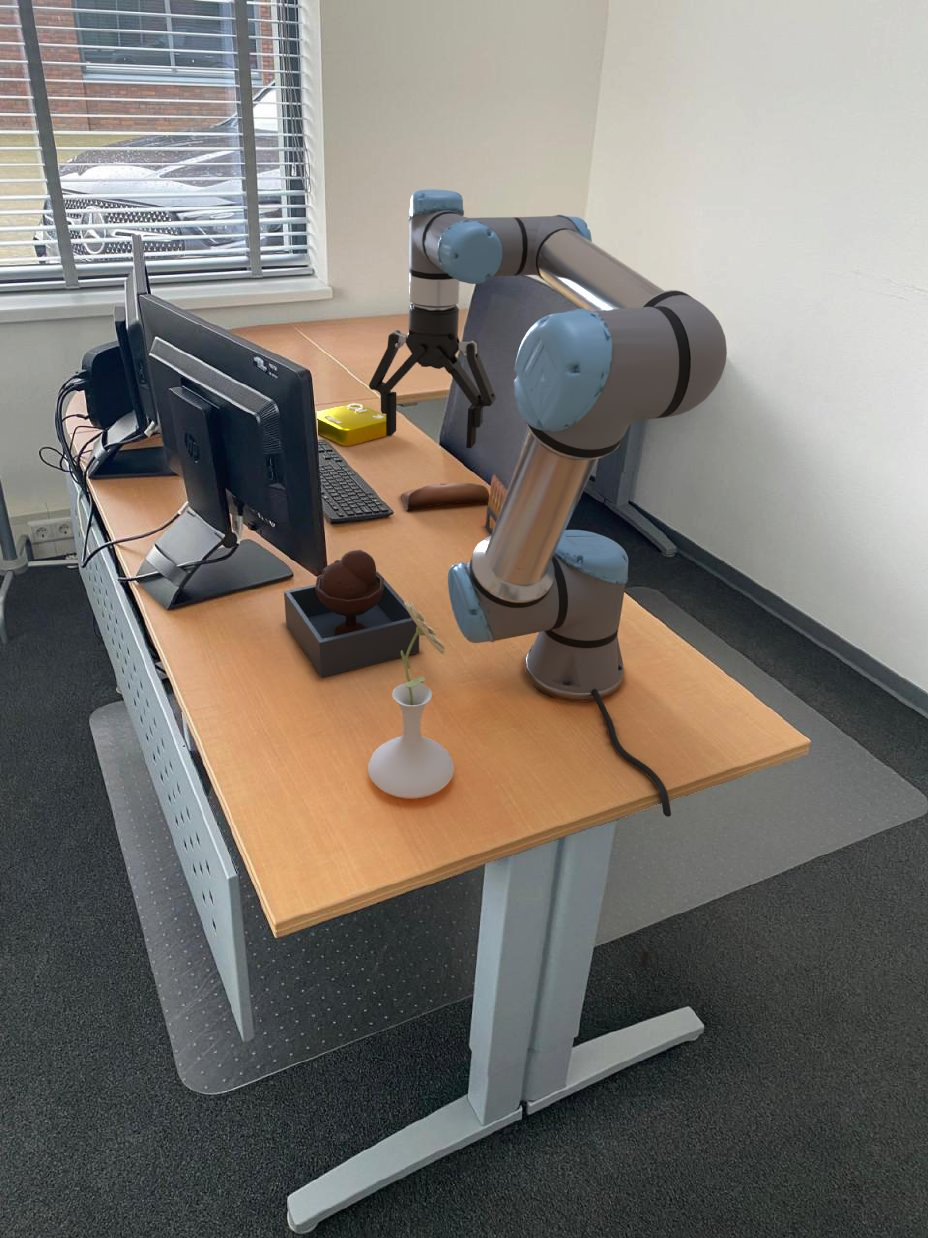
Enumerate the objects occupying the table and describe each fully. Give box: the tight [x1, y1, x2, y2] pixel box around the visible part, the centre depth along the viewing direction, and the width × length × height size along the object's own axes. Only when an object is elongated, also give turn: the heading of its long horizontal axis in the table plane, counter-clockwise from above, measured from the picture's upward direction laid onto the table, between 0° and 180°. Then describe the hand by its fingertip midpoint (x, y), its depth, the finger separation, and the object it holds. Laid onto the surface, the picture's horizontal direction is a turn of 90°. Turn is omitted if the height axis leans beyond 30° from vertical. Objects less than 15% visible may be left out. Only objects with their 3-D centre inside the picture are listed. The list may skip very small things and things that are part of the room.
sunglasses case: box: [400, 482, 490, 511], centre depth 194 cm, size 18×7×7 cm
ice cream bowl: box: [315, 549, 385, 636], centre depth 144 cm, size 11×11×15 cm
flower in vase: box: [367, 600, 455, 800], centre depth 115 cm, size 13×11×25 cm
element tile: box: [316, 402, 387, 447], centre depth 226 cm, size 15×15×5 cm
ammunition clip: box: [485, 473, 508, 536], centre depth 178 cm, size 11×2×12 cm, turn 17°
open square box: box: [283, 570, 420, 678], centre depth 147 cm, size 17×17×6 cm
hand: (430, 439), depth 147 cm, fingers open, 13 cm apart
